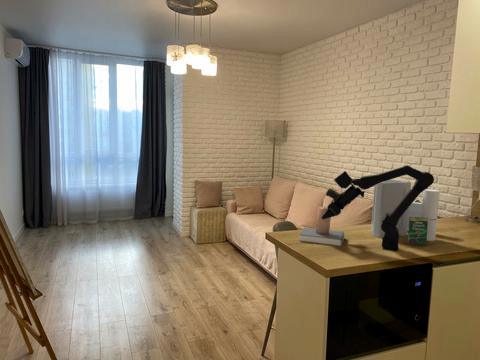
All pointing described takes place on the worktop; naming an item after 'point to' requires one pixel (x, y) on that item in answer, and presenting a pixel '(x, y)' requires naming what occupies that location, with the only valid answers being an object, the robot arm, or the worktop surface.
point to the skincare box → (414, 211)
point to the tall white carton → (389, 205)
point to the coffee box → (417, 230)
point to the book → (321, 237)
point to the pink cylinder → (322, 222)
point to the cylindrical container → (430, 211)
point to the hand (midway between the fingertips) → (323, 216)
